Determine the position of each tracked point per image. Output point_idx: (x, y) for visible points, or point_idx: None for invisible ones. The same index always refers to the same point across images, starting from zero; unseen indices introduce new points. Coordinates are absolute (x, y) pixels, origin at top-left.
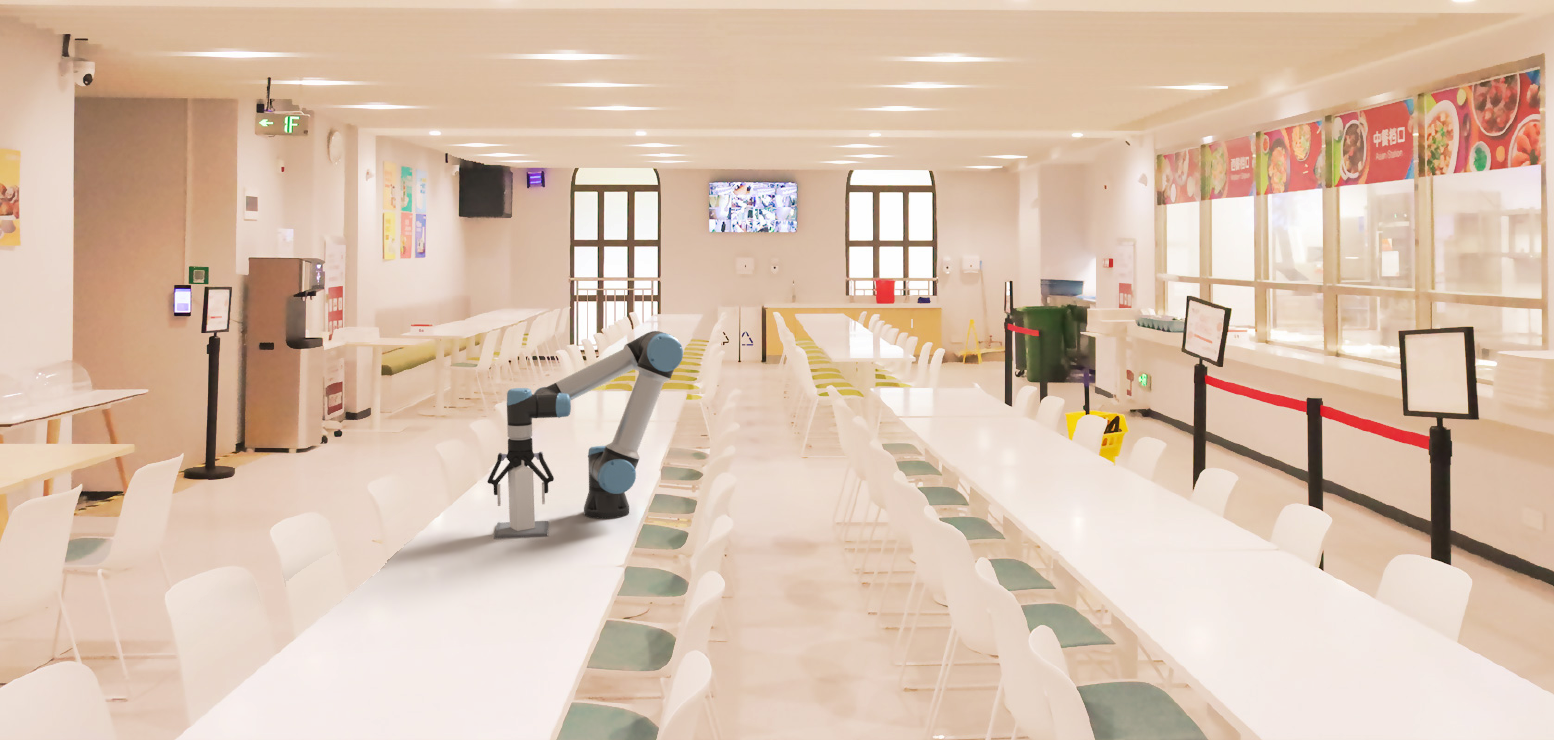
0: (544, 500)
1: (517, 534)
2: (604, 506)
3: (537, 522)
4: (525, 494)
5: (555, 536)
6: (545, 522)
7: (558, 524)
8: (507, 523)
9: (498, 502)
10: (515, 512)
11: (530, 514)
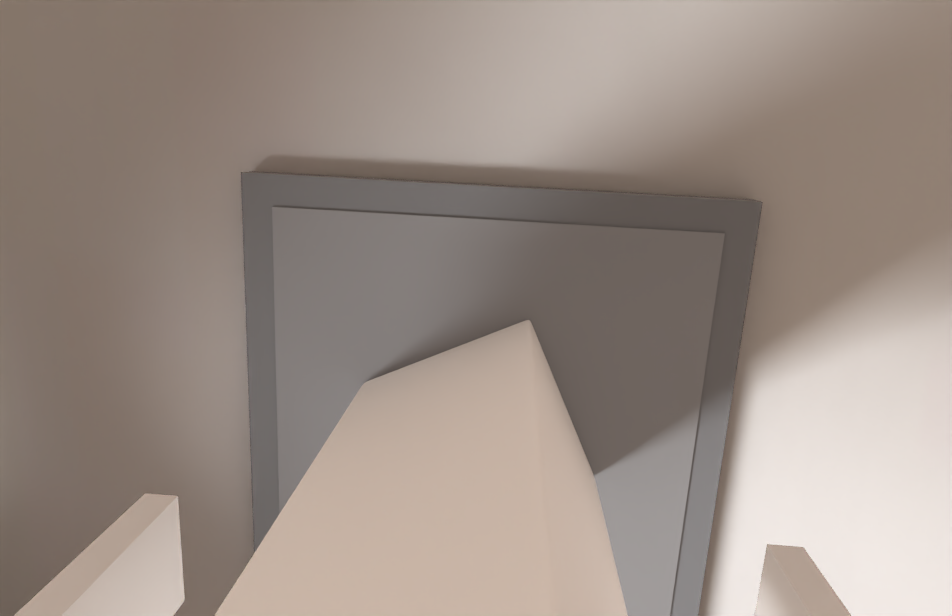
0: (112, 524)
1: (528, 207)
2: None
3: None
4: (362, 567)
5: (176, 152)
6: None
7: None
8: None
9: (814, 579)
10: (548, 412)
11: (369, 425)
